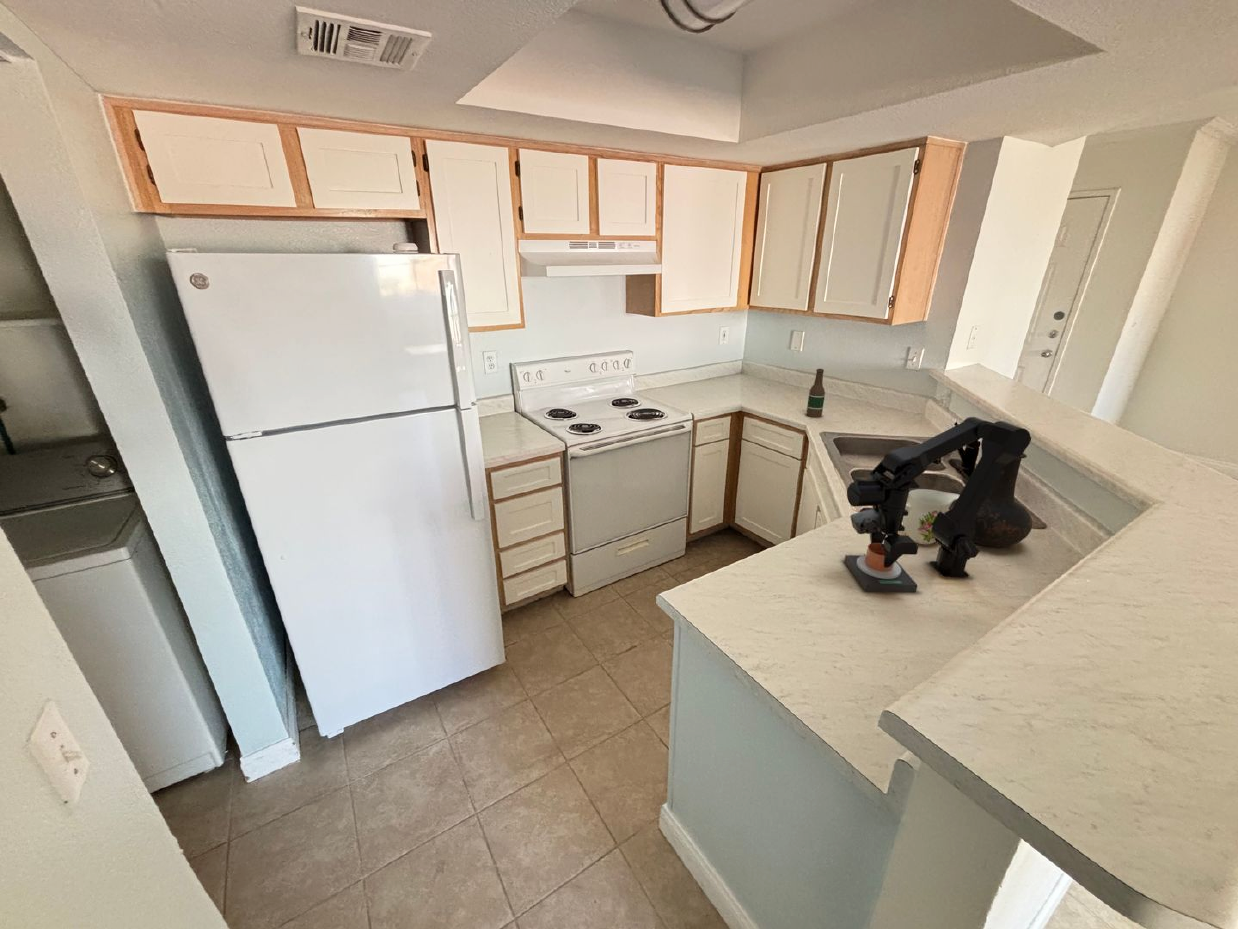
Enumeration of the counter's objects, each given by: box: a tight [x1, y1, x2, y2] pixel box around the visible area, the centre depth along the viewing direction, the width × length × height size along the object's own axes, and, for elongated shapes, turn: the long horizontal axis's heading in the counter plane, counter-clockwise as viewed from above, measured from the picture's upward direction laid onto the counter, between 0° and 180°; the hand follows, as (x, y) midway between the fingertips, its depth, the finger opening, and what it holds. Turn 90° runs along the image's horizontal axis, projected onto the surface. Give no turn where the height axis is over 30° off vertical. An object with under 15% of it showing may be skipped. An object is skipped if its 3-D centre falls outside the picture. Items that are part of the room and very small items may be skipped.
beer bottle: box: [806, 368, 826, 419], centre depth 254 cm, size 8×8×24 cm
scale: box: [844, 554, 918, 593], centre depth 126 cm, size 13×12×3 cm
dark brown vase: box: [972, 449, 1033, 548], centre depth 137 cm, size 18×18×28 cm
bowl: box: [865, 542, 895, 571], centre depth 125 cm, size 6×6×4 cm
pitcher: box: [901, 488, 960, 545], centre depth 140 cm, size 11×18×14 cm, turn 86°
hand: (880, 559), depth 125 cm, fingers closed on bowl, 6 cm apart
